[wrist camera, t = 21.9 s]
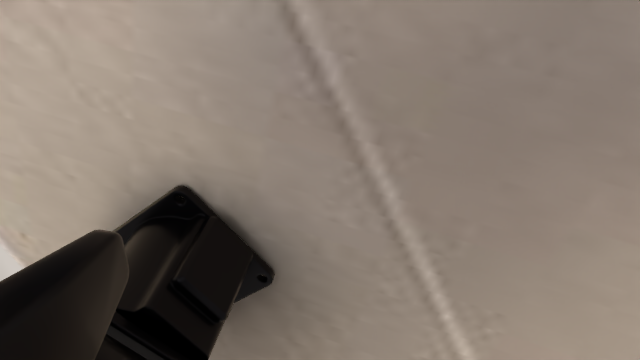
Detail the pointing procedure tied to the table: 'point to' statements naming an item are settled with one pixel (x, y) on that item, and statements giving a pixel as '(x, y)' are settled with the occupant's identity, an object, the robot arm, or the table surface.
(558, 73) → the table surface
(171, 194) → the robot arm
